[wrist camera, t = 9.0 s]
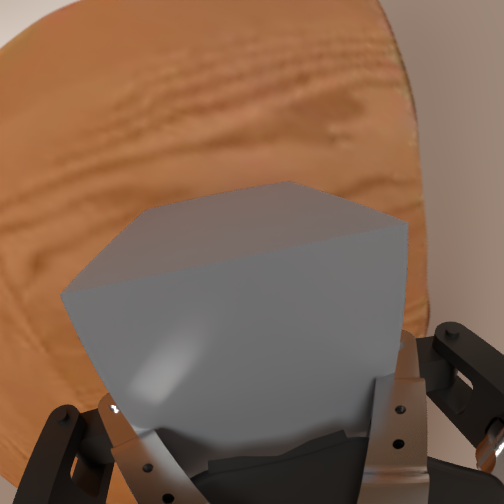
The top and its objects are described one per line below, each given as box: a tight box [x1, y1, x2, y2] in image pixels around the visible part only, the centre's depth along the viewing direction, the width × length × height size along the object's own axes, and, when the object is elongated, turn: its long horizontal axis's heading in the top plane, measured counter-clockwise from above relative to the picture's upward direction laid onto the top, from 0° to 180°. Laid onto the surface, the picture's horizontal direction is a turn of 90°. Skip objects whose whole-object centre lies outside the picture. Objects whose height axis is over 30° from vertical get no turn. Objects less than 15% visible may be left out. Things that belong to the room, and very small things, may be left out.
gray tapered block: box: [60, 181, 408, 478], centre depth 11 cm, size 10×7×9 cm, turn 9°
